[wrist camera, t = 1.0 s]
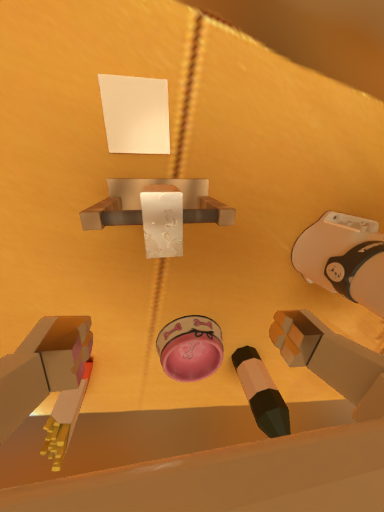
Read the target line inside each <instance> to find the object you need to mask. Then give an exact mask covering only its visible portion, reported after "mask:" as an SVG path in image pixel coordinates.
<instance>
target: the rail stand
mask: <svg viewBox="0 0 384 512" xmlns="http://www.w3.org/2000/svg"><path fill="white" fill-rule="evenodd" d="M107 185H108V191H109V197H108V198H106V199H105V200H103V201H101V202H99V203H97V204H95V205H93V206H91V207H89V208H87V209H85V210H83V211H81V212H80V213H79V214H80V218H81V223H82V227H83V230H102V229H103V228H104V227H105V226H115V225H143V217H142V207H141V197H140V192H141V191H142V190H143V188H144V187H145V186H146V185H175V186H176V187H177V188H178V189H179V190H181V191H182V194H183V223H213V222H215V223H216V224H217V225H219V226H229V225H234V220H235V211H236V209H234V208H231V207H229V206H227V205H225V204H223V203H221V202H219V201H217V200H215V199H213V198H211V197H209V196H208V185H209V179H107Z"/></svg>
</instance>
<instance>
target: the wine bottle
mask: <svg viewBox="0 0 384 512" xmlns="http://www.w3.org/2000/svg"><path fill="white" fill-rule="evenodd" d="M232 361H233V364H234V367H235V369H236V372H237V374H238V377H239V379H240V382H241V384H242V387H243V389H244V392H245V395H246V397H247V400H248V402H249V405H250V407H251V410H252V412H253V415H254V417H255V420H256V423H257V425H258V427H259V428H260V429H261V430H262V431H263V432H264V433H265V434H266V435H267V436H268V437H270V438H276V437H281V436H286V435H291V433H290V421H289V410H288V407H287V406H286V404H285V402H284V400H283V398H282V396H281V395H280V393H279V391H278V389H277V387H276V386H275V384H274V382H273V380H272V378H271V376H270V375H269V373H268V371H267V369H266V367H265V366H264V364H263V362H262V360H261V358H260V356H259V355H258V353H257V351H256V349H255V348H253V347H250V346H245V347H242V348H239V349H237V350H236V351H235V352H234V354H233V355H232Z"/></svg>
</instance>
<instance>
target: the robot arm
mask: <svg viewBox="0 0 384 512" xmlns="http://www.w3.org/2000/svg"><path fill="white" fill-rule="evenodd" d="M333 217H334V218H333ZM292 263H293V266H294V267H295V269H296V270H297V271H298V272H300V273H301V274H302V275H303V277H304V279H305V281H306V282H308V283H316V284H318V285H320V286H321V287H323V288H325V289H327V290H328V291H330V292H332V293H340V294H341V295H342V296H343V297H345V298H347V299H349V300H351V301H353V302H355V303H359V304H361V305H363V306H364V307H366V308H367V309H369V310H370V311H372V312H373V313H375V314H376V315H378V316H379V317H381V318H382V319H384V233H381V232H379V224H378V222H377V221H374V220H371V219H366V218H362V217H357V216H353V215H348V214H344V213H339V212H334V211H327V212H326V213H325V214H324V215H323V216H322V217H321V218H320V220H319V221H318V222H316V223H315V224H314V225H312V226H310V227H309V228H308V229H307V230H305V231H304V232H303V233H302V234H301V236H300V237H299V238H298V240H297V242H296V243H295V246H294V248H293V252H292ZM273 318H274V320H275V321H274V322H273V323H272V324H271V326H270V329H269V335H270V339H271V341H272V343H273V344H274V346H276V347H277V348H279V349H280V354H281V356H282V357H283V358H284V360H285V361H286V363H287V364H288V365H289V367H302V366H307V368H308V369H310V370H311V371H312V372H313V373H315V374H316V375H317V376H319V377H320V378H321V379H322V380H324V381H325V382H326V383H327V384H329V385H330V386H331V387H333V388H334V389H335V390H336V391H338V392H339V393H340V394H341V395H343V396H344V397H345V398H347V399H348V400H349V401H350V402H352V403H353V404H354V405H356V408H355V409H354V410H353V412H352V418H353V419H354V421H355V423H350V424H345V425H340V426H334V427H329V428H324V429H318V430H313V431H308V432H302V433H297V434H292V435H286V436H281V437H276V438H270V439H265V440H260V441H255V442H249V443H244V444H239V445H234V446H228V447H223V448H218V449H212V450H207V451H201V452H197V453H191V454H185V455H181V456H175V457H170V458H164V459H159V460H154V461H148V462H143V463H138V464H133V465H128V466H122V467H117V468H112V469H106V470H101V471H96V472H90V473H85V474H80V475H75V476H69V477H64V478H59V479H54V480H48V481H43V482H37V483H32V484H27V485H22V486H16V487H11V488H6V489H0V512H384V356H382V355H380V354H378V353H376V352H374V351H372V350H370V349H368V348H366V347H364V346H362V345H360V344H358V343H356V342H354V341H352V340H350V339H347V338H345V337H343V336H341V335H339V334H335V333H334V332H333V331H331V330H330V329H329V328H328V327H327V326H326V325H325V324H324V323H322V322H321V321H320V320H319V319H318V318H317V317H316V316H314V315H313V314H312V313H311V312H310V311H308V310H306V309H305V310H286V311H277V312H276V313H275V315H274V317H273ZM90 327H91V317H90V316H45V317H43V318H41V319H40V320H39V322H38V323H37V324H36V325H35V327H34V328H33V329H32V331H31V332H30V333H29V334H28V336H27V337H26V338H25V339H24V341H23V342H22V343H21V345H20V346H19V347H18V348H17V350H16V351H15V352H14V354H7V355H6V356H4V357H2V358H1V359H0V445H1V444H2V443H3V442H4V441H5V439H6V438H7V437H8V436H9V435H10V434H11V433H12V432H13V431H14V430H15V429H16V428H17V427H18V426H19V425H20V424H21V423H22V422H23V421H24V420H25V419H26V418H27V417H28V416H29V415H30V414H31V413H32V412H33V411H34V410H35V409H36V408H37V407H38V406H39V404H40V403H41V402H42V401H43V400H44V399H45V398H46V397H47V396H48V395H49V394H50V393H49V392H56V391H64V390H72V389H78V388H79V385H80V383H81V380H82V377H83V374H84V371H85V367H84V363H85V362H86V361H87V360H88V359H89V357H90V354H91V350H92V345H93V333H92V332H91V331H90V330H89V329H90Z"/></svg>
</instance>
